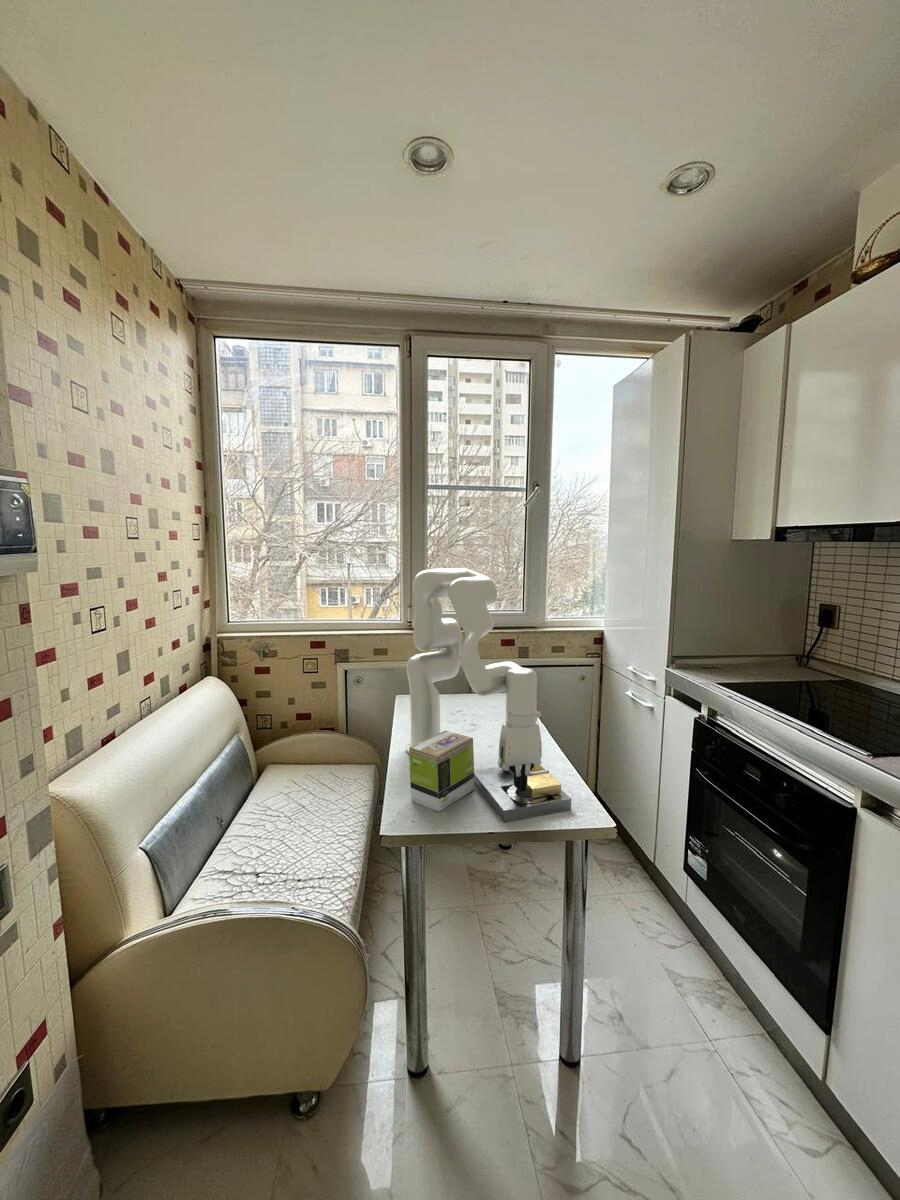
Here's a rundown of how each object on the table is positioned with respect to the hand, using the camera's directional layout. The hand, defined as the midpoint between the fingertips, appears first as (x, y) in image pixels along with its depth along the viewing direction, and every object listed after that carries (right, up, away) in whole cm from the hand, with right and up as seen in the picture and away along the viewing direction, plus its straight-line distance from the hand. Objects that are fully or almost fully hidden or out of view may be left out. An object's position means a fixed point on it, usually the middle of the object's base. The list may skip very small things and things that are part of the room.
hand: (520, 788), depth 124 cm
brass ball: (+5, +2, +10) cm, 12 cm away
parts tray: (+5, 0, +13) cm, 13 cm away
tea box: (-20, -4, +6) cm, 21 cm away
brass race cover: (+5, -1, +2) cm, 6 cm away
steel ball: (-2, +2, +13) cm, 13 cm away
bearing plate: (0, -4, +6) cm, 7 cm away
